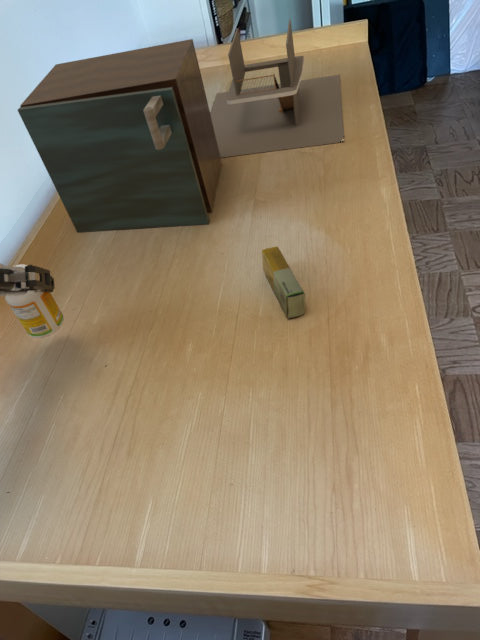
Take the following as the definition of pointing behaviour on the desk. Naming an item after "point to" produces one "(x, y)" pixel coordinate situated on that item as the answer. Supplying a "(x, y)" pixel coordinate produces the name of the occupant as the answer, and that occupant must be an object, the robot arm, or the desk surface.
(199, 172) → the cupboard
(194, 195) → the door
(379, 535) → the desk surface
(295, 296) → the medication box
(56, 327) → the supplement bottle
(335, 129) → the grey brown stand-shaped piece
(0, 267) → the robot arm
